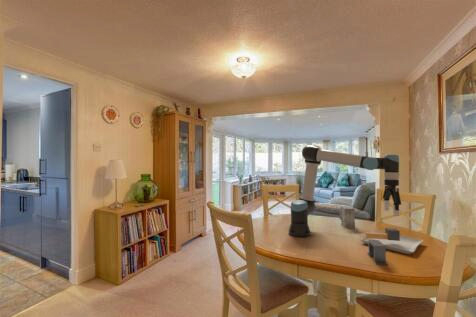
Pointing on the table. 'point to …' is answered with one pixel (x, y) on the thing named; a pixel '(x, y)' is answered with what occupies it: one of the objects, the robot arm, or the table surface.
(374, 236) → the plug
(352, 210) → the circuit breaker
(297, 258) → the table surface
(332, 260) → the table surface
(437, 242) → the table surface
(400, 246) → the square plate
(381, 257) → the housing
